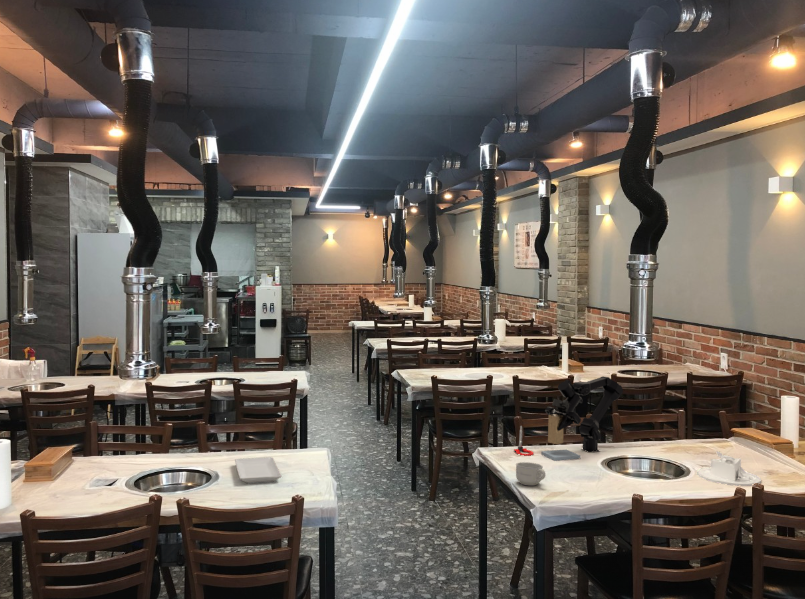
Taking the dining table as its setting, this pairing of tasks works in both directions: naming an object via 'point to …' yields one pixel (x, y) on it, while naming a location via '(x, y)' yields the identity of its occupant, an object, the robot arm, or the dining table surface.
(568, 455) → the mat
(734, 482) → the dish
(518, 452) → the tow hook
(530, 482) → the teacup
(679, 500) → the dining table surface
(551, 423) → the gold metal block
